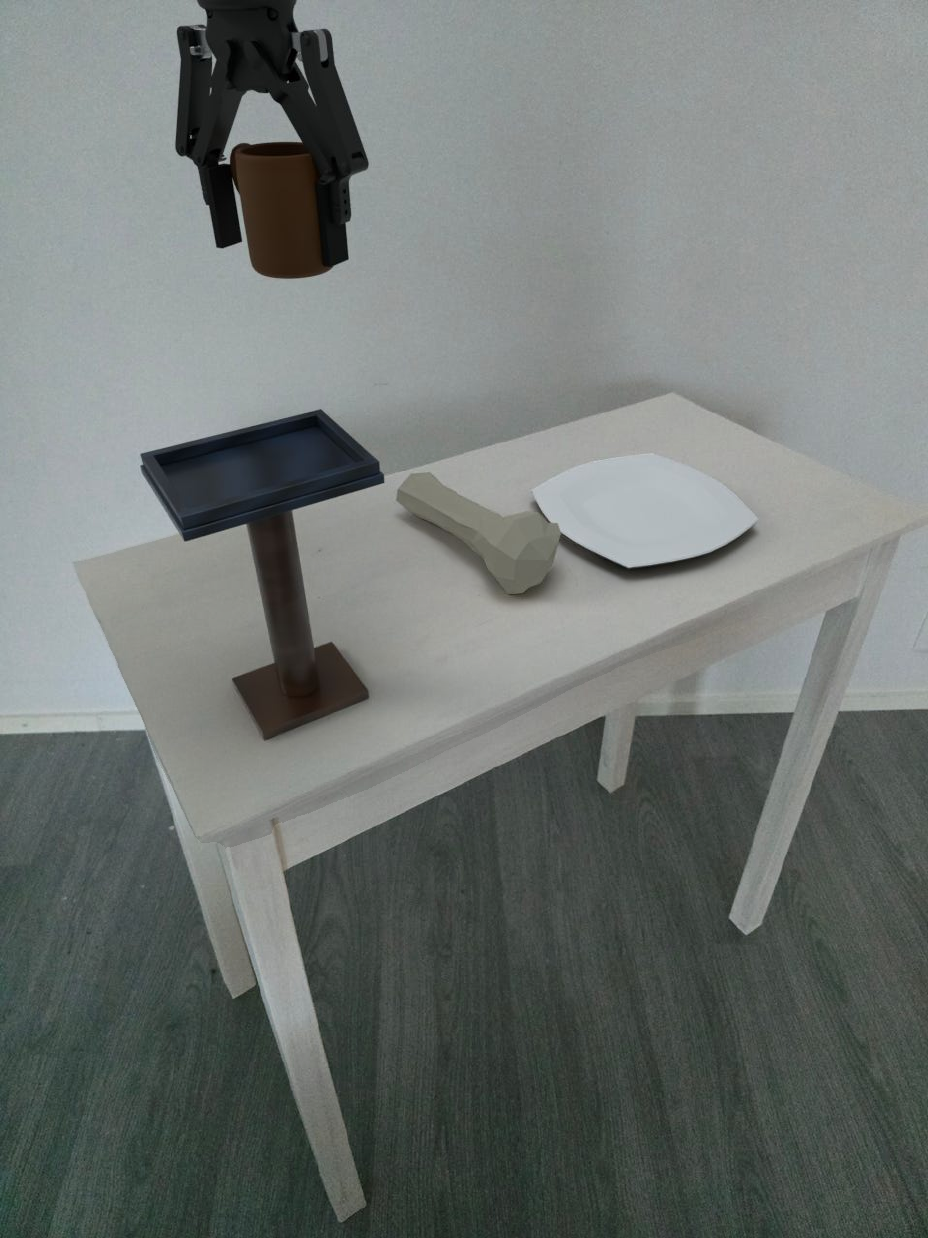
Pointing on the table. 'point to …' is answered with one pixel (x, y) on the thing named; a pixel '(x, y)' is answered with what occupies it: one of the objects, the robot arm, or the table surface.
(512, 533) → the faceted club
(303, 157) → the mug
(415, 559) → the table surface
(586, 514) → the plate
